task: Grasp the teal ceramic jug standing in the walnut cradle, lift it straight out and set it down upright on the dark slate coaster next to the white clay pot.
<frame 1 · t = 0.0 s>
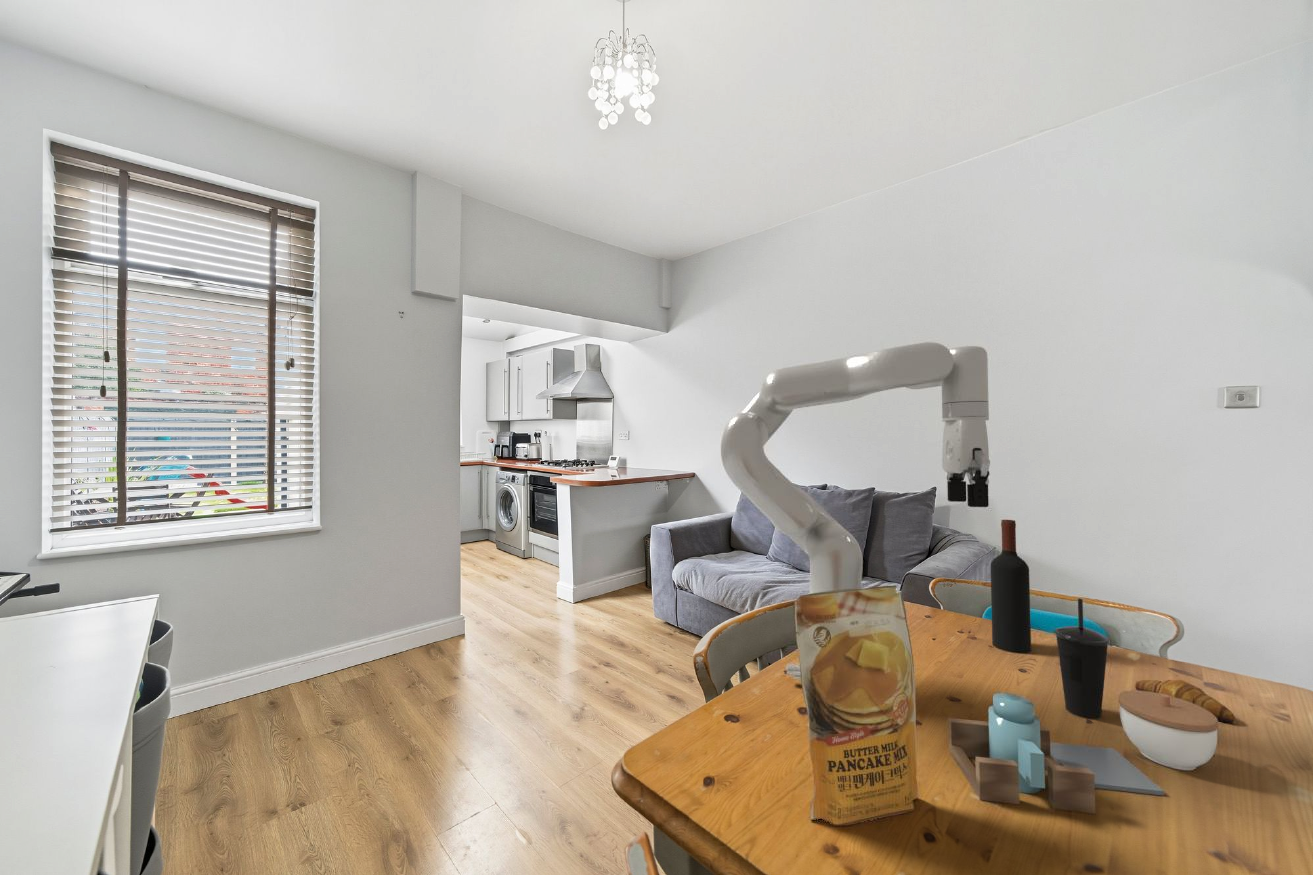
hand: (967, 504, 95), 37 cm above the table, tool pointing down, fingers open, 9 cm apart
drinking cup: (1083, 713, 90), on the table
jug: (1015, 779, 72), resting in cradle
pancake mix bag: (860, 805, 67), on the table
croissant: (1182, 708, 92), on the table
coaster: (1097, 768, 74), on the table
lidded jar: (1167, 759, 77), on the table
cradle: (1015, 778, 72), on the table
wine bottle: (1011, 647, 120), on the table
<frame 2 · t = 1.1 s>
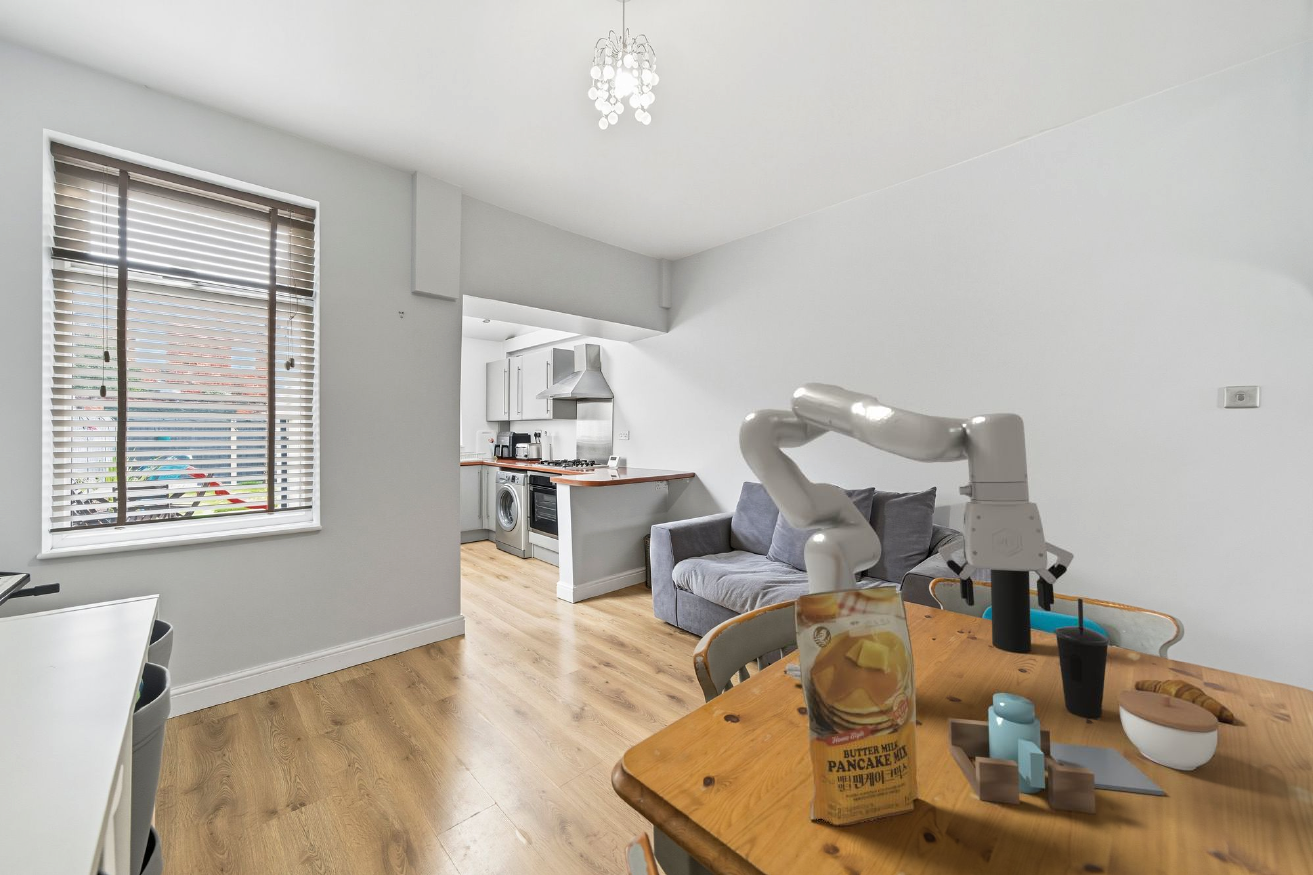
hand: (1006, 606, 77), 23 cm above the table, tool pointing down, fingers open, 9 cm apart
nothing on the table moved.
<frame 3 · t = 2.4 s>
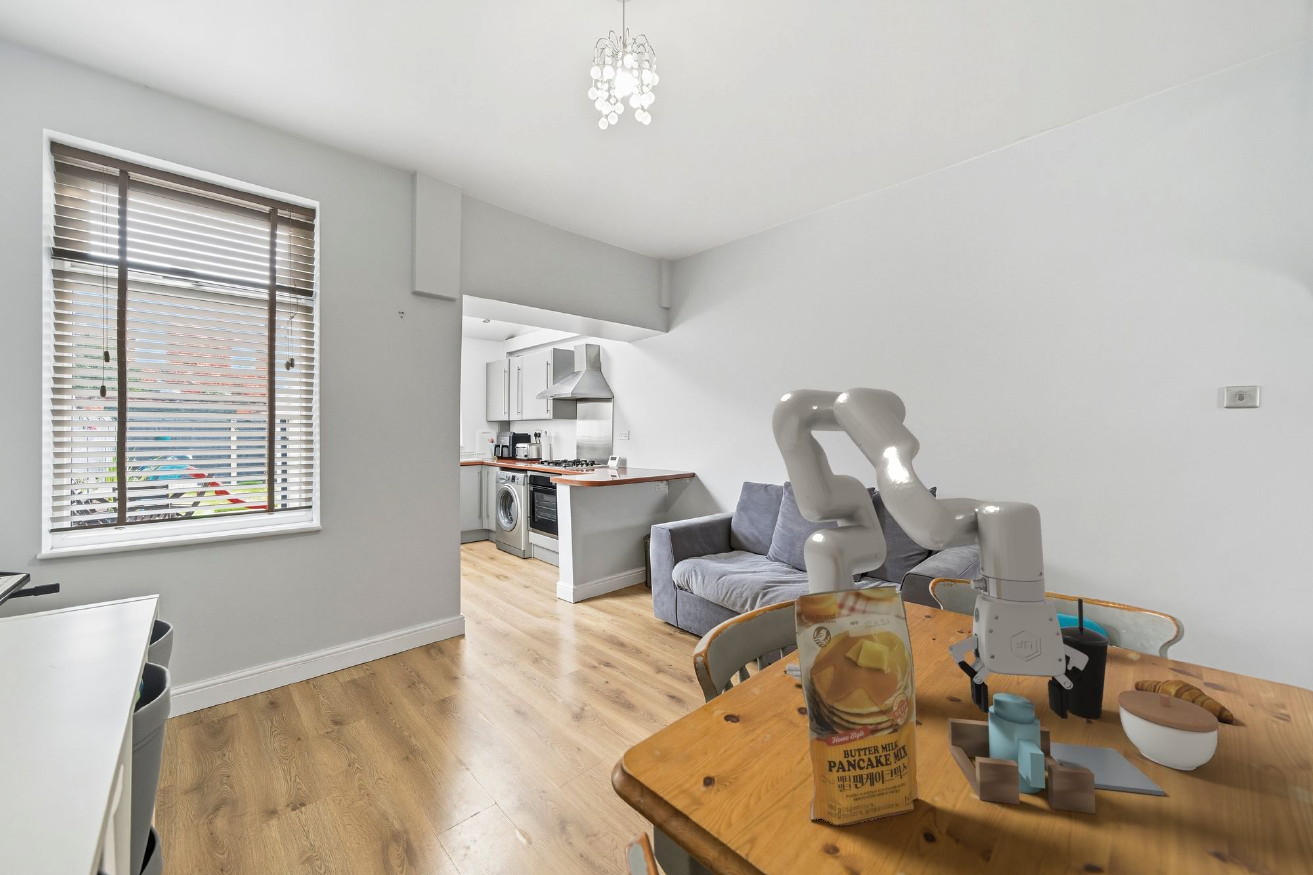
hand: (1019, 711, 72), 10 cm above the table, tool pointing down, fingers open, 9 cm apart
nothing on the table moved.
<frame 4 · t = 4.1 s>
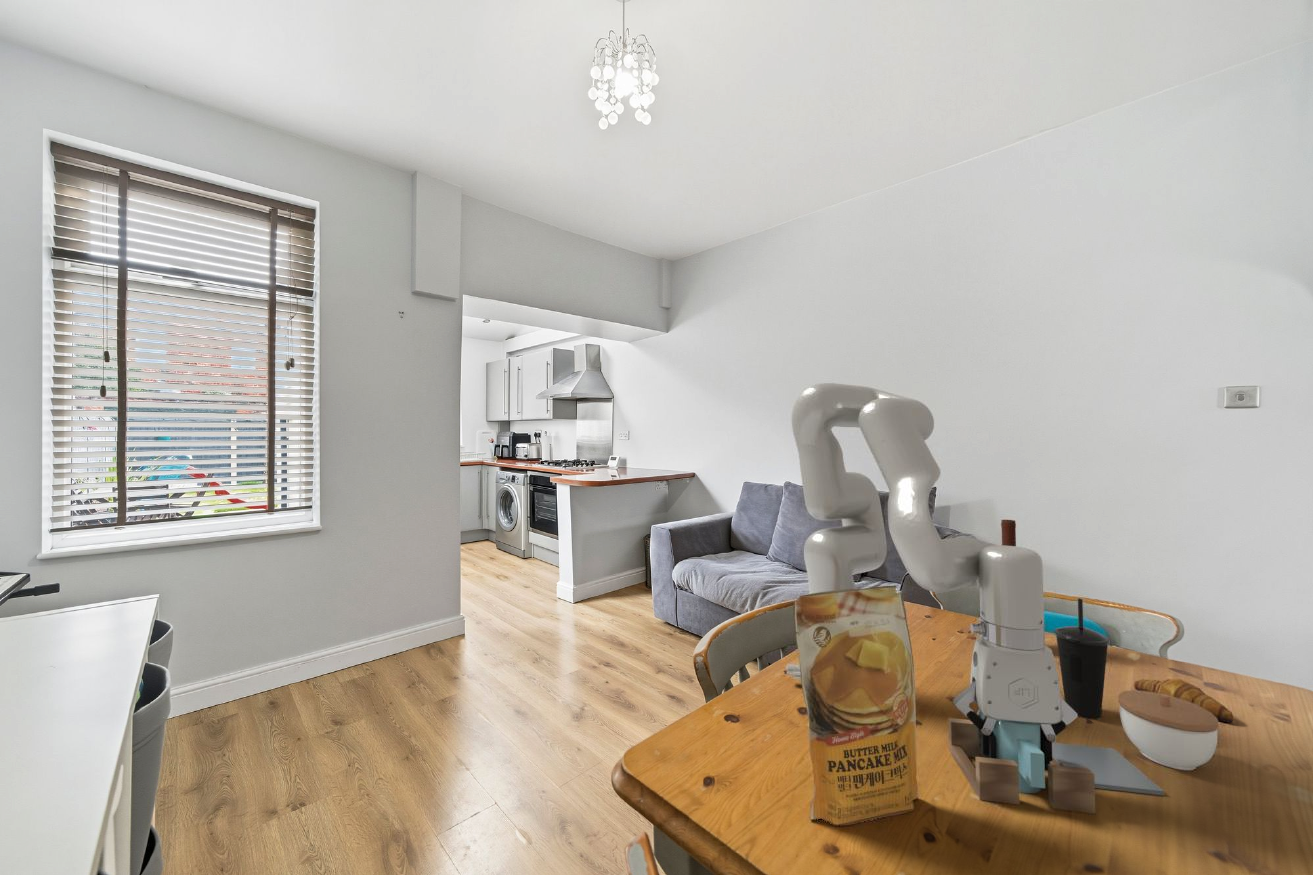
hand: (1014, 760, 72), 3 cm above the table, tool pointing down, fingers closed on jug, 6 cm apart
jug: (1015, 779, 72), resting in cradle, touching gripper
everything else where it was.
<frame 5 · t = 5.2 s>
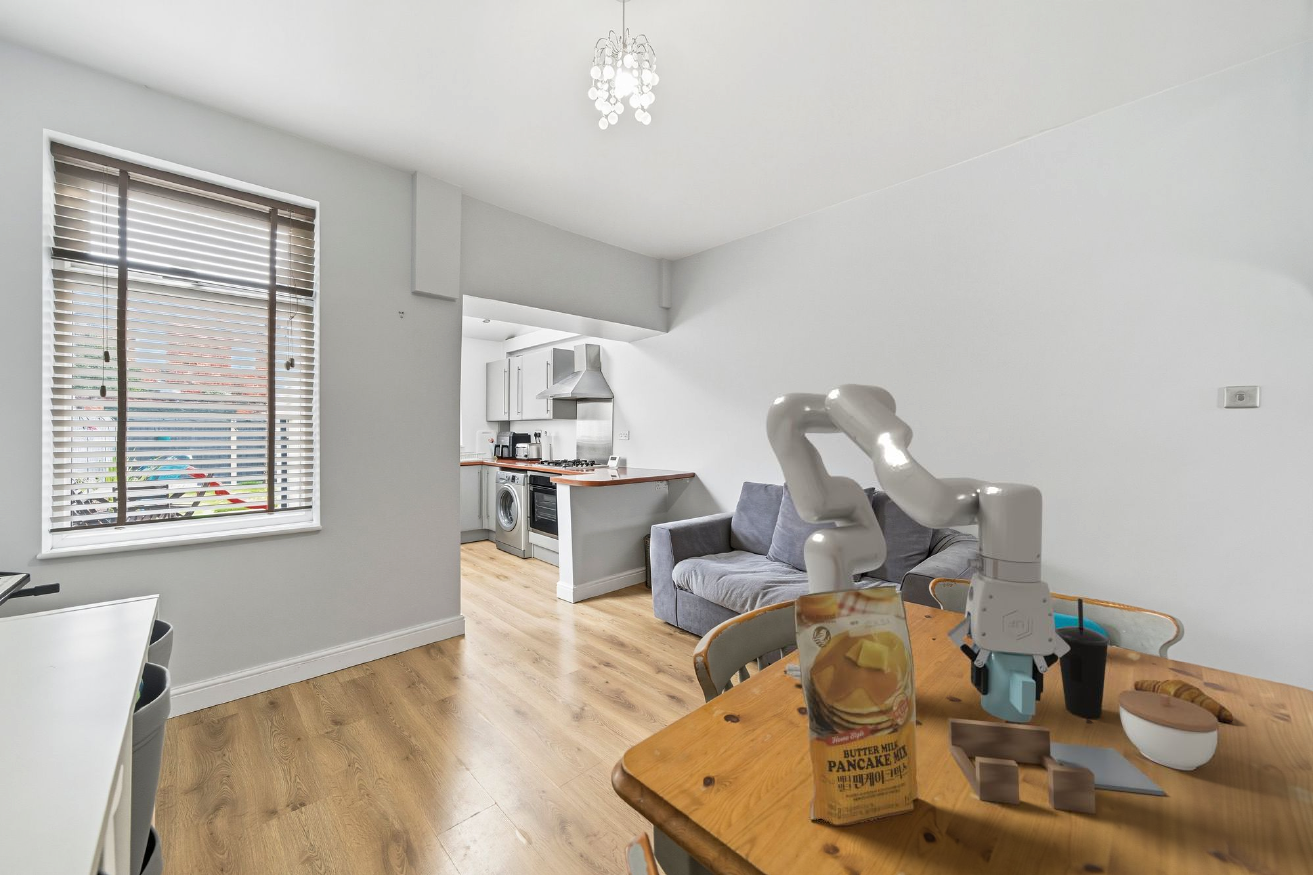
hand: (1005, 692, 73), 12 cm above the table, tool pointing down, fingers closed on jug, 6 cm apart
jug: (1005, 710, 73), point 9 cm above the table, touching gripper
everything else where it was.
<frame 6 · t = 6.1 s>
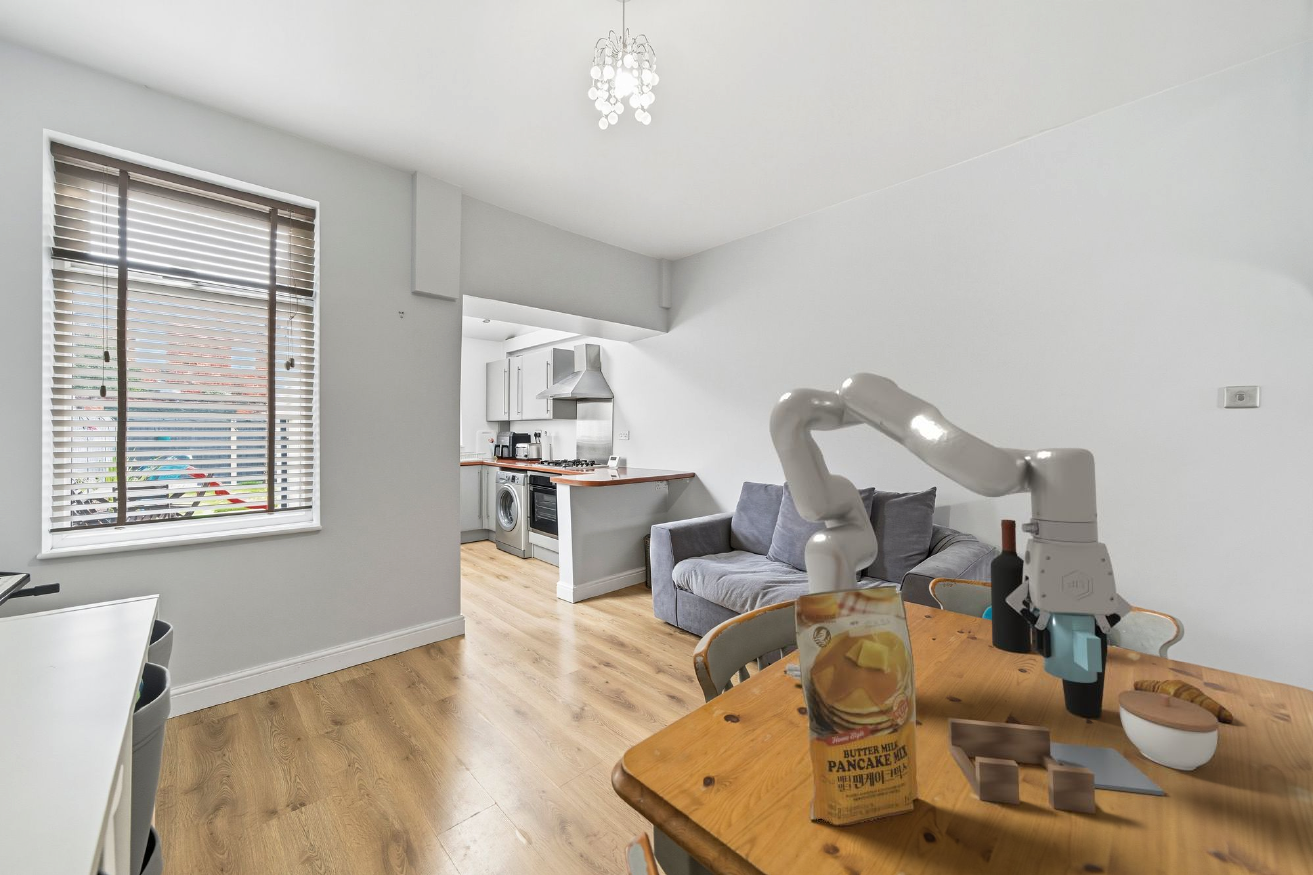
hand: (1069, 655, 74), 17 cm above the table, tool pointing down, fingers closed on jug, 6 cm apart
jug: (1069, 673, 74), point 14 cm above the table, touching gripper
everything else where it was.
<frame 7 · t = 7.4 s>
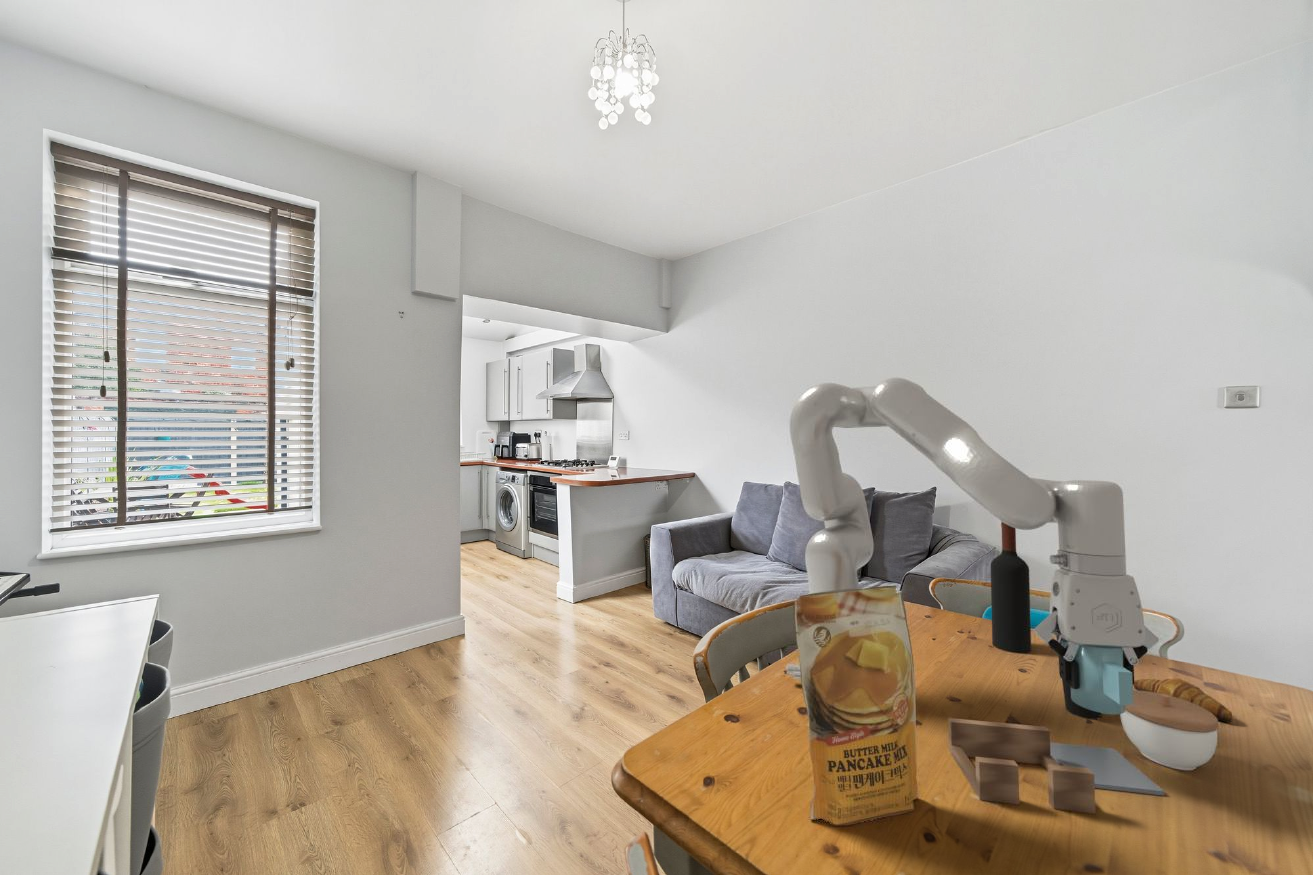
hand: (1096, 685, 75), 12 cm above the table, tool pointing down, fingers closed on jug, 6 cm apart
jug: (1097, 703, 74), point 9 cm above the table, touching gripper
everything else where it was.
when the fingers open (4 cm above the table, at t = 9.5 s): jug drops 1 cm, resting on coaster.
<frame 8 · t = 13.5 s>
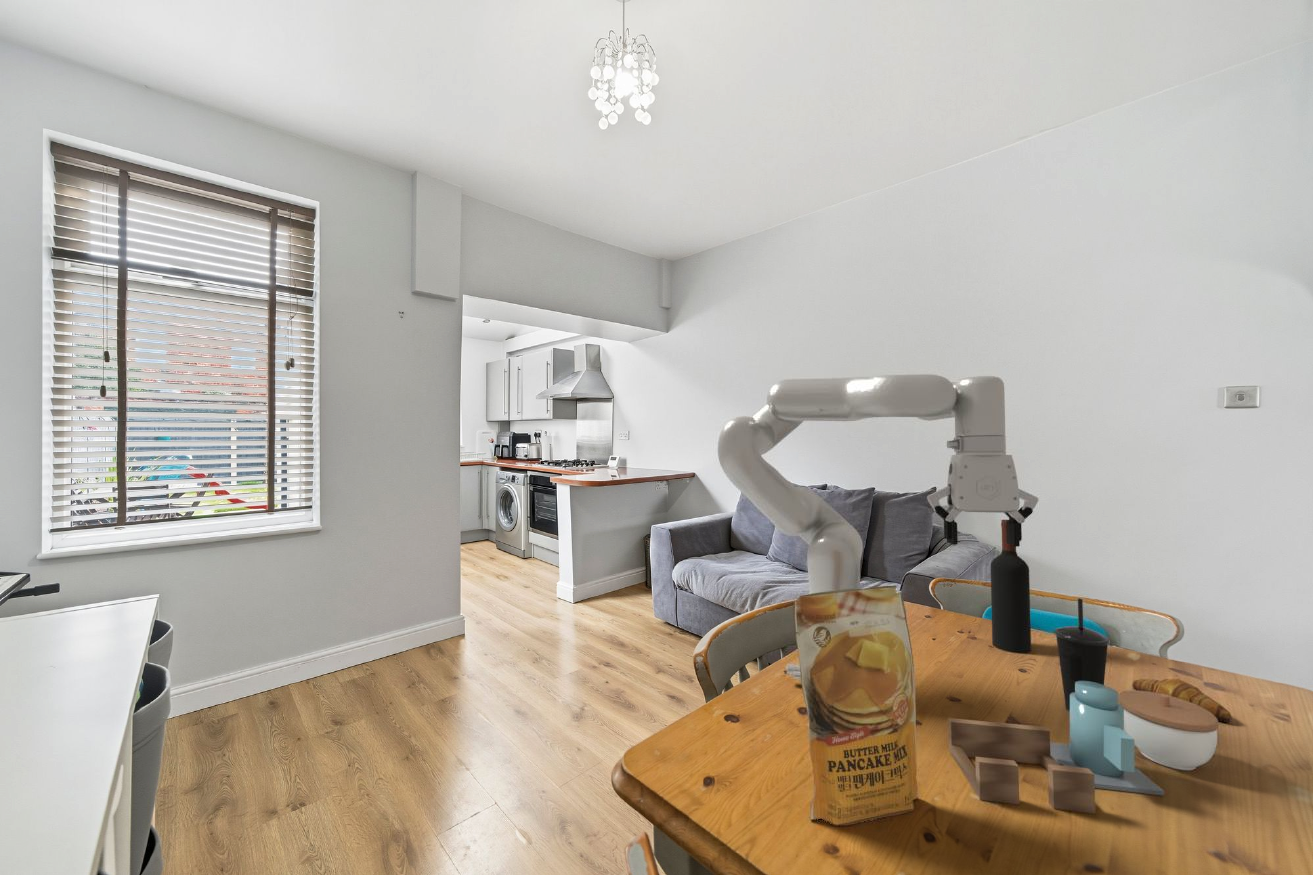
hand: (982, 544, 89), 30 cm above the table, tool pointing down, fingers open, 9 cm apart
jug: (1095, 763, 74), point 1 cm above the table, touching coaster
everything else where it was.
at the end: jug inside the target area on the coaster (0.2 cm from its centre), point 0.7 cm above the coaster's base; jug tilted 1°; the gripper is holding nothing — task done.
